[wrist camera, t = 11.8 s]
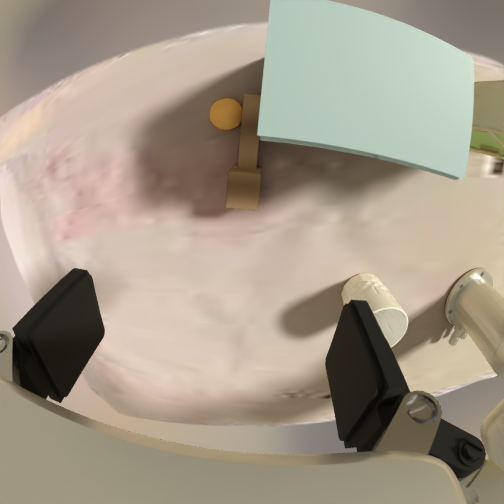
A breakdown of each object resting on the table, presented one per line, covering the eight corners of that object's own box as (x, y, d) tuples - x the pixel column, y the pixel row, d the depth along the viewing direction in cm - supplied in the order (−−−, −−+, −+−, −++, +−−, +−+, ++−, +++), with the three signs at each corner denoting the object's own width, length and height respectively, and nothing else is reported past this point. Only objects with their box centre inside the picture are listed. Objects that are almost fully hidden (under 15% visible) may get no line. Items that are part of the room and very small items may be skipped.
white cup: (360, 318, 43) (378, 360, 34) (327, 297, 42) (341, 341, 33) (392, 284, 41) (418, 322, 31) (360, 259, 39) (384, 297, 30)
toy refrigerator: (422, 126, 30) (537, 143, 11) (436, 85, 27) (546, 78, 8) (459, 153, 31) (564, 189, 12) (471, 114, 28) (575, 130, 9)
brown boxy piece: (258, 197, 36) (257, 210, 30) (231, 195, 36) (226, 207, 30) (268, 98, 30) (269, 91, 25) (240, 96, 30) (235, 89, 25)
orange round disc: (240, 131, 33) (239, 131, 31) (209, 127, 32) (207, 127, 31) (246, 101, 31) (245, 100, 30) (214, 97, 31) (212, 96, 29)
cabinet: (380, 155, 33) (463, 183, 16) (259, 135, 33) (256, 140, 16) (388, 80, 28) (473, 58, 12) (267, 56, 28) (271, -8, 12)
